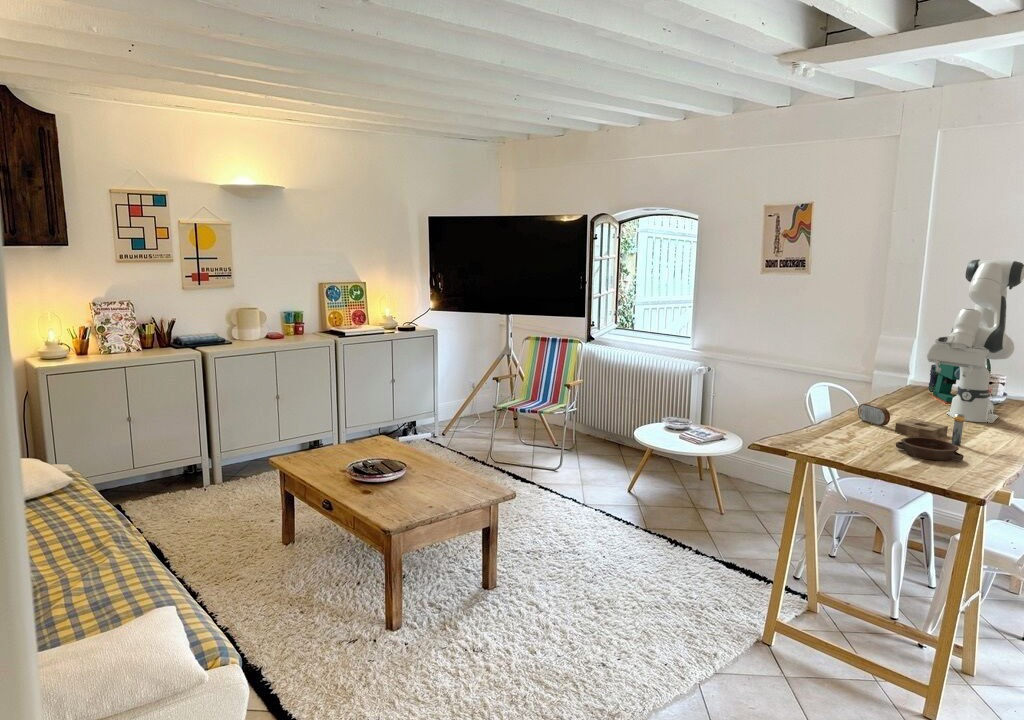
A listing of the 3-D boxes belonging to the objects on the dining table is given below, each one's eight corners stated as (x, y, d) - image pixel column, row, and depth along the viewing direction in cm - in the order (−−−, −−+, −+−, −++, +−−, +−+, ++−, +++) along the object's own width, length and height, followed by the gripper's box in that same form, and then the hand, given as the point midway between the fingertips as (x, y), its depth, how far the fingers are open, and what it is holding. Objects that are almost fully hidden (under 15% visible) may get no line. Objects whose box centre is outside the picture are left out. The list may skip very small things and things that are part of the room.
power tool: (973, 412, 326) (978, 370, 323) (956, 411, 328) (962, 369, 324) (945, 397, 357) (950, 359, 354) (930, 397, 358) (935, 358, 355)
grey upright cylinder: (953, 443, 273) (957, 413, 271) (962, 445, 271) (966, 415, 269) (949, 444, 271) (953, 414, 269) (958, 446, 269) (962, 416, 267)
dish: (901, 445, 270) (902, 432, 269) (967, 457, 255) (969, 444, 254) (888, 454, 257) (890, 441, 256) (958, 468, 242) (960, 454, 241)
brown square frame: (911, 427, 295) (912, 418, 294) (946, 435, 284) (947, 426, 283) (894, 432, 287) (895, 423, 286) (930, 440, 276) (931, 431, 275)
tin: (889, 427, 295) (891, 408, 294) (884, 428, 294) (886, 408, 293) (861, 419, 309) (863, 400, 308) (855, 419, 308) (857, 401, 306)
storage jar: (945, 392, 370) (949, 365, 367) (952, 396, 360) (956, 368, 358) (924, 391, 372) (928, 364, 370) (931, 395, 363) (934, 367, 360)
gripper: (991, 351, 277) (982, 382, 274) (933, 344, 291) (924, 373, 288) (990, 344, 273) (980, 375, 270) (931, 337, 287) (922, 366, 284)
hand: (951, 374), depth 279 cm, fingers open, 8 cm apart
